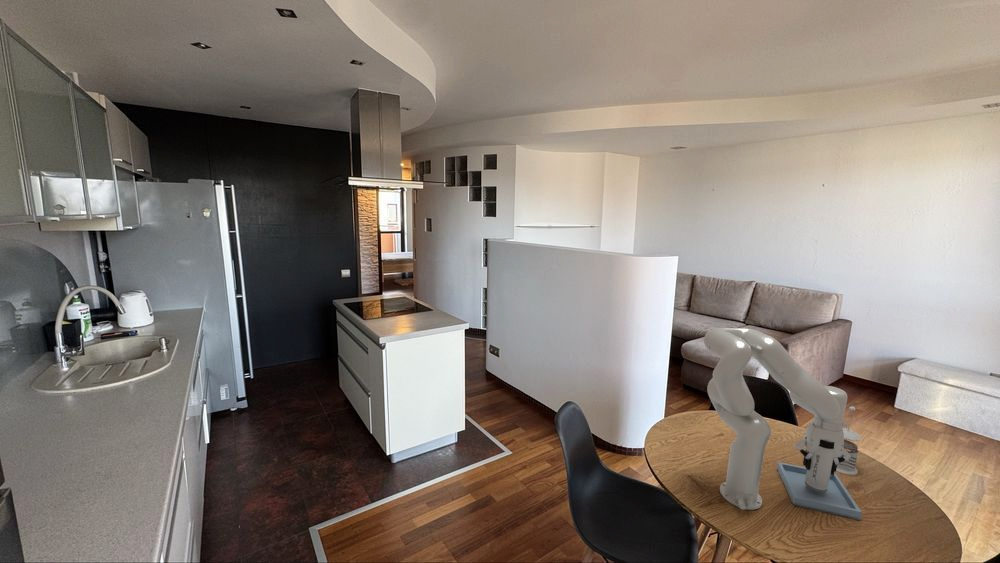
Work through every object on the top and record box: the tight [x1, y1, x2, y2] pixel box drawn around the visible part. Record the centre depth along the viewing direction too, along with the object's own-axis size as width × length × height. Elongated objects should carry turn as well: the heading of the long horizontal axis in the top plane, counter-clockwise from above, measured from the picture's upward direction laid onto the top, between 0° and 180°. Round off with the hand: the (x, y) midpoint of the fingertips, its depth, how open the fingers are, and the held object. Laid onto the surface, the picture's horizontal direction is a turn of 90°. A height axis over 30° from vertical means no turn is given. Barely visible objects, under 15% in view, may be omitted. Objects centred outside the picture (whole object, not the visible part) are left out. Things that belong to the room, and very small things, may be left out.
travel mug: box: [805, 439, 835, 492], centre depth 138 cm, size 6×7×20 cm
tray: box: [776, 461, 862, 521], centre depth 140 cm, size 20×18×3 cm
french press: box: [836, 406, 862, 476], centre depth 152 cm, size 10×12×25 cm
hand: (818, 469), depth 139 cm, fingers closed on travel mug, 6 cm apart
